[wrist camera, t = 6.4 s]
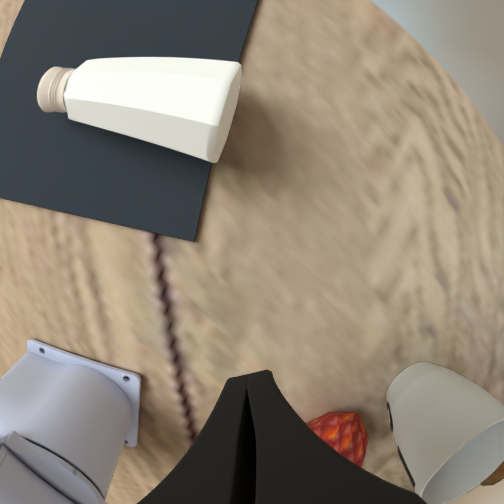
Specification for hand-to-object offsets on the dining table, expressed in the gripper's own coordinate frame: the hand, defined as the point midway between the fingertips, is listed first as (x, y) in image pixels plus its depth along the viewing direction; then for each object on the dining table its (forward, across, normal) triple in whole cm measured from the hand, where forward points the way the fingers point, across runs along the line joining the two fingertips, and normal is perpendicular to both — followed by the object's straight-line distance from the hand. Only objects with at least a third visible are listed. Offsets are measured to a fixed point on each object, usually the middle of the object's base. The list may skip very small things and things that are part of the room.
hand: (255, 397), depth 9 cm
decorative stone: (+10, -2, +14) cm, 17 cm away
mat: (+10, +6, -15) cm, 19 cm away
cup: (+11, -11, +12) cm, 20 cm away
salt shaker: (+8, -2, -10) cm, 12 cm away
